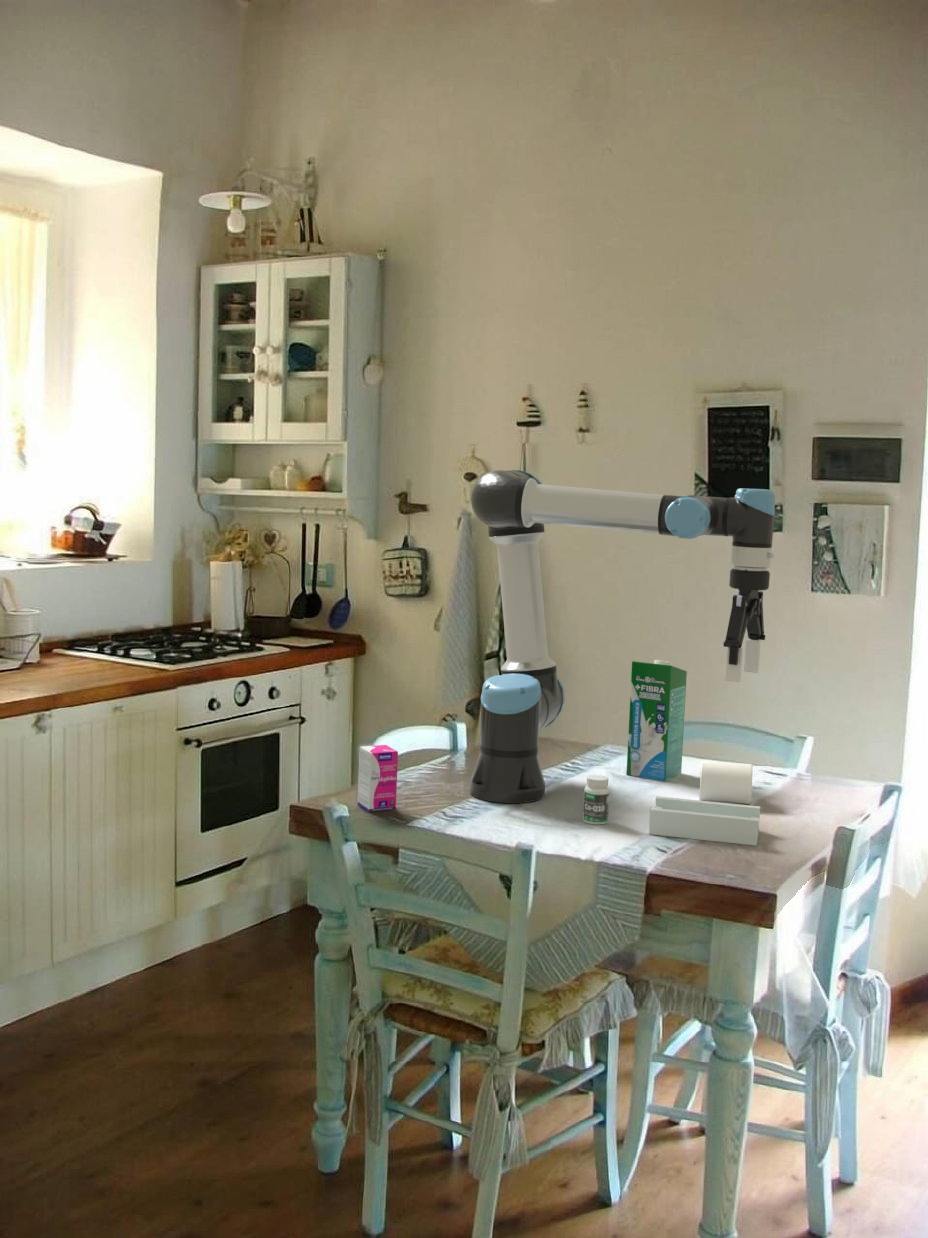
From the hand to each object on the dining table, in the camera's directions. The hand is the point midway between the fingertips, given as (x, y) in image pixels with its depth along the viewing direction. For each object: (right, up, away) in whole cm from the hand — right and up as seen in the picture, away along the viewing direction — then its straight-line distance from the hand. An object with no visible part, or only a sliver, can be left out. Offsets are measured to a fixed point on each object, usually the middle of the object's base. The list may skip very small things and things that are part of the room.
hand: (742, 676), depth 242 cm
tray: (-11, -28, -17) cm, 34 cm away
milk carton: (-13, -23, +26) cm, 37 cm away
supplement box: (-71, -25, -7) cm, 76 cm away
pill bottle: (-30, -27, -12) cm, 42 cm away
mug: (-2, -25, +7) cm, 26 cm away
